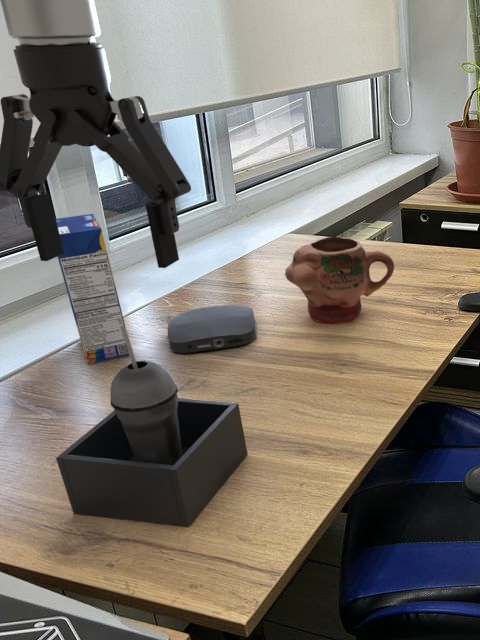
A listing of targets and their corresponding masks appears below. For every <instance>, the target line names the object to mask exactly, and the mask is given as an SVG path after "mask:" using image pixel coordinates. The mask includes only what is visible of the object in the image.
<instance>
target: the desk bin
mask: <svg viewBox="0 0 480 640" xmlns="http://www.w3.org/2000/svg"><path fill="white" fill-rule="evenodd" d="M240 409H241V408H240V404H239V402H231V401H218V400H206V399H196V398H195V399H193V398H183V397H178V406H177V413H178V421H179V430H180V438H181V447H182V455H183V456H182V457H181V458H180V459H179V460H178V461H177V462H176V463H175V464H174V465H164V464H154V463H144V462H136V459H135V457H134V454H133V452H132V449H131V446H130V444H129V441H128V438H127V436H126V433H125V431H124V428H123V425H122V423H121V420H120V419H119V418H118V416H117V414H116V413H115V411H114V410H113V411H111V412H110V413H109V414H108V415H107V416H105V417H103V419H101V420H100V421H99V422H98V423H97V424H95V425H94V426H93V427H92V428H90V430H88V431H87V432H86V433H84V434H83V435H82V436H81V437H79V438H78V439H77V440H76V441H75V442H73V443H72V444H71V445H70V446H69V447H67V448H66V449H65V450H63V451H62V452H61V453H60V454H59V455H57V456H56V457H55V460H56V463H57V466H58V469H59V473H60V475H61V480H62V482H63V485H64V488H65V492H66V494H67V497H68V501H69V504H70V508H71V510H72V513H73V514H74V515H81V516H90V517H99V518H107V519H115V520H125V521H133V522H141V523H149V524H150V523H151V524H159V525H168V526H176V527H183V528H190V527H191V526H192V524H193V523H194V522H195V521H196V519H197V518H198V517H199V515H201V513H202V512H203V511H204V509H206V507H207V505H209V503H210V502H211V501H212V500H213V498H214V497H215V496H216V494H217V493H218V492H219V491H220V490H221V488H222V487H223V486H224V485H225V483H226V482H227V481H228V480H229V478H230V477H231V476H232V475H233V474H234V472H235V471H236V470H237V469H238V467H239V466H240V465H241V463H243V462H244V460H245V458H247V456H248V449H247V443H246V437H245V432H244V427H243V421H242V416H241V410H240Z"/></svg>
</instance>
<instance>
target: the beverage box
mask: <svg viewBox="0 0 480 640" xmlns="http://www.w3.org/2000/svg"><path fill="white" fill-rule="evenodd" d="M55 219H56V223H57V226H58V230H59V234H60V238H61V241H62V245H63V249H64V254H62V255H60V256H57V257H56V258H57V260H58V264H59V268H60V272H61V274H62V279H63V282H64V286H65V289H66V293H67V297H68V301H69V304H70V308H71V311H72V314H73V318H74V321H75V325H76V329H77V332H78V336H79V340H80V343H81V346H82V350H83V354H84V356H85V360H86V363H87V365H93V364H98V363H102V362H107V361H111V360H116V359H120V358H125V357H128V356H129V353H128V350H127V347H126V343H125V340H124V337H123V334H122V330H121V327H120V326H123V325H125V326H126V323H125V319H124V316H123V311H122V307H121V302H120V299H119V295H118V291H117V287H116V282H115V279H114V274H113V271H112V267H111V263H110V260H109V255H108V251H107V246H106V242H105V238H104V233H103V230H102V227H101V225H100V224H99V222H98V220H97V218H96V217H95V215H94V213H88V214H82V215H81V214H80V215H73V216H67V217H58V218H55ZM129 357H130V356H129Z"/></svg>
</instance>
